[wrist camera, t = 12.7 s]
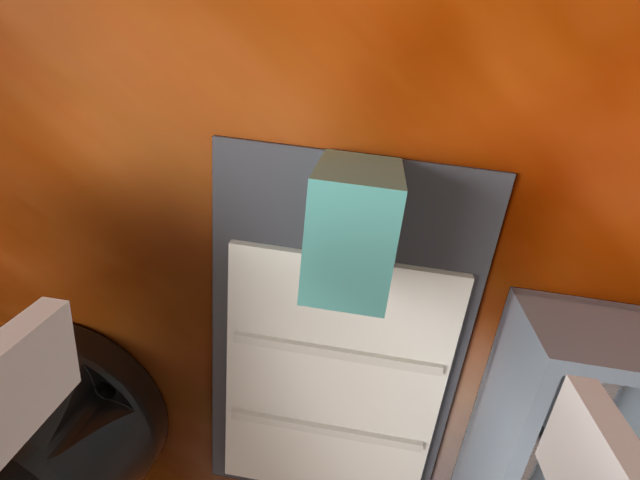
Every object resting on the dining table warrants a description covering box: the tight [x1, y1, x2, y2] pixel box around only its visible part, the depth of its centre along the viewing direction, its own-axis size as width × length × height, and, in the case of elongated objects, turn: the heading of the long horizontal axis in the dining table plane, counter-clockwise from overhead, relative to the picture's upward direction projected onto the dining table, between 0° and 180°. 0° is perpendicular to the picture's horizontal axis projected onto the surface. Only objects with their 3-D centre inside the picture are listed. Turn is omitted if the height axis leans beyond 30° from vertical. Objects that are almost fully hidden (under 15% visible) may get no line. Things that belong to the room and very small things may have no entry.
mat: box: [212, 135, 516, 480], centre depth 29 cm, size 16×26×1 cm, turn 174°
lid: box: [225, 149, 474, 480], centre depth 26 cm, size 14×25×6 cm, turn 174°
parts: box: [521, 382, 640, 480], centre depth 27 cm, size 9×14×2 cm
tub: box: [451, 287, 640, 480], centre depth 26 cm, size 13×18×6 cm
